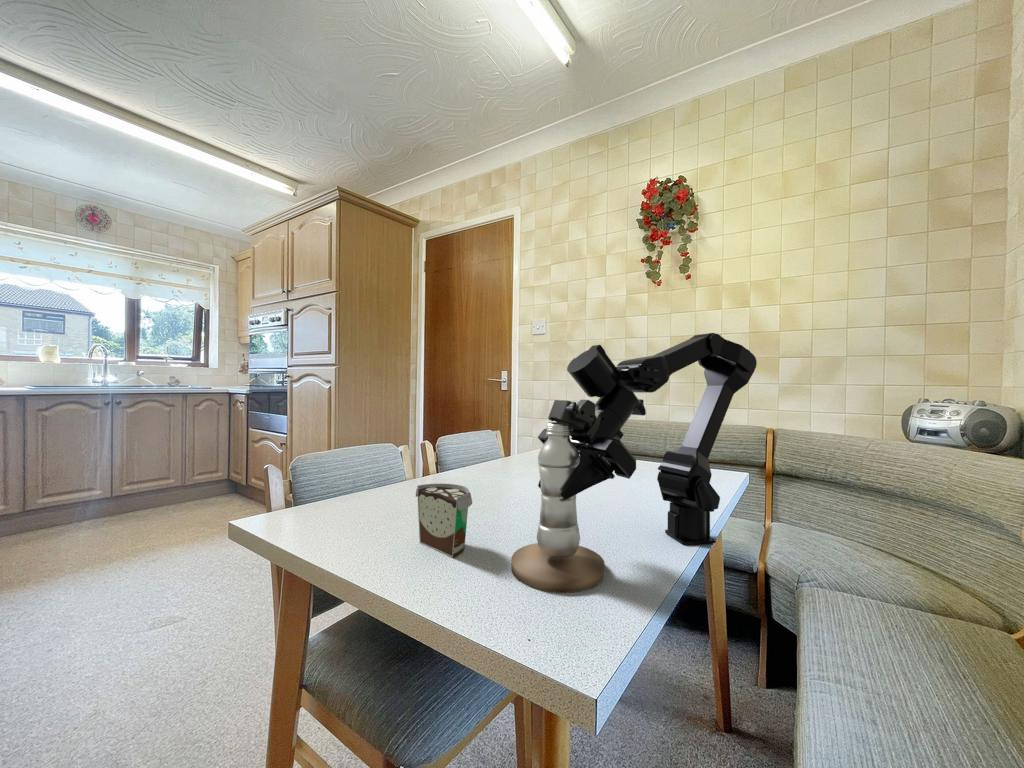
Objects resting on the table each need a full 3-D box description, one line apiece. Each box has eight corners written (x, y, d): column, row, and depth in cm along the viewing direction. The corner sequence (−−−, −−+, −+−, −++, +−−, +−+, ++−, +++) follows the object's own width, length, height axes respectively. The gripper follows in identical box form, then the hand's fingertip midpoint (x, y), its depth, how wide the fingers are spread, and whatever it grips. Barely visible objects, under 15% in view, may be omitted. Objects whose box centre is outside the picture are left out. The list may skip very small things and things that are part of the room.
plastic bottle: (527, 553, 61) (527, 422, 62) (558, 542, 66) (558, 420, 66) (558, 568, 56) (558, 426, 57) (589, 555, 61) (589, 423, 61)
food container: (486, 550, 68) (487, 491, 68) (458, 561, 64) (459, 497, 64) (442, 532, 76) (443, 479, 77) (414, 540, 72) (415, 485, 72)
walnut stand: (585, 548, 69) (585, 540, 69) (620, 588, 55) (620, 577, 55) (504, 553, 67) (505, 544, 67) (520, 596, 53) (520, 584, 53)
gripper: (547, 382, 71) (490, 449, 66) (620, 381, 55) (553, 469, 50) (582, 425, 75) (532, 491, 70) (662, 435, 58) (603, 523, 53)
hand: (551, 492), depth 60 cm, fingers closed on plastic bottle, 6 cm apart
